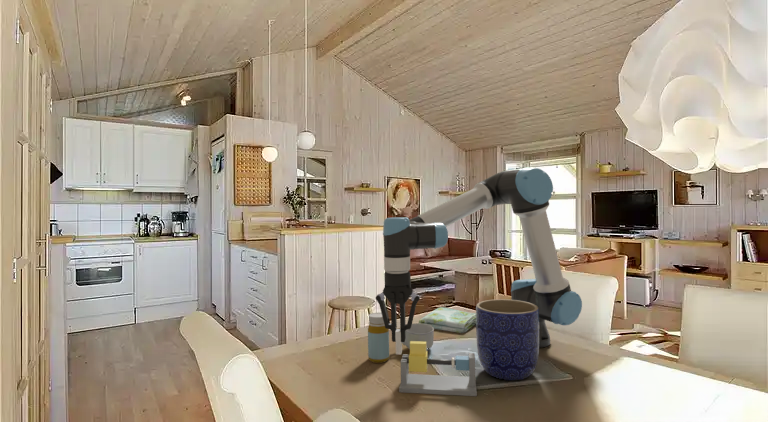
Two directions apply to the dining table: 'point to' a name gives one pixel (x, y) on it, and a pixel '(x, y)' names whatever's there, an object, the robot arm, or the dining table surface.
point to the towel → (449, 320)
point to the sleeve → (418, 356)
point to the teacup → (419, 334)
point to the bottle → (377, 339)
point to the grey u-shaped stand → (440, 378)
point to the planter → (507, 338)
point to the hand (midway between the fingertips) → (399, 352)
